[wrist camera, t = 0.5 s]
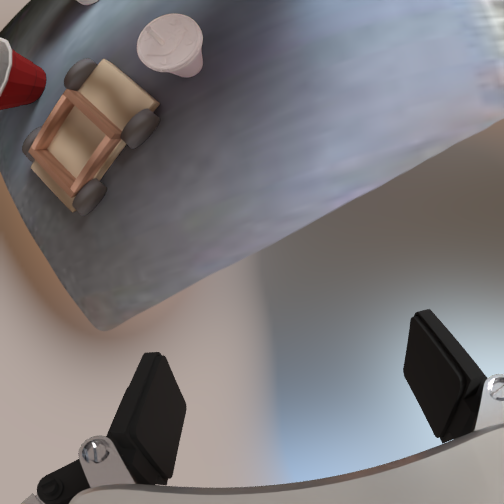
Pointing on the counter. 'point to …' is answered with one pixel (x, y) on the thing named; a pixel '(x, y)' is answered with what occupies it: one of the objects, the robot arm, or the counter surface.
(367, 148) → the counter surface
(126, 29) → the counter surface
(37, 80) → the plastic cup
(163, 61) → the smoothie
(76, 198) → the chassis
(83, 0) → the roll
